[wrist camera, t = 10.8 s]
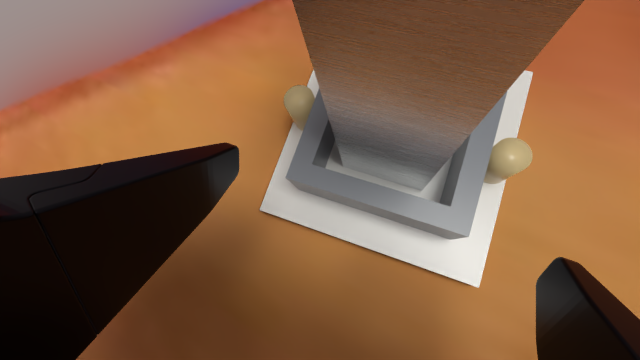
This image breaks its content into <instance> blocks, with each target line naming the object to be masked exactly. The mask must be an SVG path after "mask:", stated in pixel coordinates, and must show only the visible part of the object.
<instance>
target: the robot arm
mask: <svg viewBox="0 0 640 360" xmlns="http://www.w3.org/2000/svg"><path fill="white" fill-rule="evenodd" d="M238 172H239V149H238V147H237V146H235V145H232V144H229V143H219V144H213V145H208V146H202V147H196V148H190V149H184V150H179V151H173V152H167V153H161V154H156V155H150V156H144V157H138V158H132V159H127V160H121V161H115V162H109V163H104V164H103V165H101V164H97V165H91V166H86V167H79V168H73V169H67V170H60V171H53V172H46V173H38V174H31V175H23V176H15V177H7V178H0V360H76V359H77V358H78V356H79V355H80V354H81V353H82V352H83V351H84V350H85V349H86V348H87V347H88V346H89V344H90V343H91V342H92V341H93V340H94V339H95V338H96V337H97V335H98V334H99V333H100V332H101V331H102V330H103V329H104V328H105V327H106V326H107V324H108V323H109V322H110V321H111V320H112V319H113V318H114V317H115V316H116V315H117V314H118V312H119V311H120V310H121V309H122V308H123V307H124V306H125V305H126V304H127V303H128V302H129V300H130V299H131V298H132V297H133V296H134V295H135V294H136V293H137V292H138V291H139V290H140V288H141V287H142V286H143V285H144V284H145V283H146V282H147V281H148V280H149V279H150V278H151V276H152V275H153V274H154V273H155V272H156V271H157V270H158V269H159V268H160V267H161V265H162V264H163V263H164V262H165V261H166V260H167V259H168V258H169V257H170V256H171V255H172V253H173V252H174V251H175V250H176V249H177V248H178V247H179V246H180V245H181V244H182V243H183V241H184V240H185V239H186V238H187V237H188V236H189V235H190V234H191V233H192V232H193V231H194V229H195V228H196V227H197V226H198V225H199V224H200V223H201V222H202V221H203V220H204V219H205V217H206V216H207V215H208V214H209V213H210V212H211V210H212V209H213V208H214V207H215V205H216V204H217V203H218V201H219V200H220V199H221V197H222V196H223V194H224V193H225V192H226V190H227V189H228V188H229V186H230V185H231V183H232V182H233V181H234V179H235V178H236V176H237V175H238ZM536 345H537V355H538V360H640V319H638V318H637V317H636V316H635V315H634V314H633V313H632V312H631V311H630V310H629V309H628V308H627V307H626V306H625V305H623V304H622V303H621V302H620V301H619V300H618V299H617V298H616V297H615V296H614V295H613V294H612V293H611V292H610V291H608V290H607V289H606V288H605V287H604V286H603V285H602V284H601V283H600V282H599V281H598V280H597V279H596V278H595V277H593V276H592V275H591V274H590V273H589V272H588V271H587V270H586V269H585V268H584V267H583V266H582V265H581V264H579V263H577V262H575V261H572V260H569V259H566V258H563V257H558V258H556V259H555V260H553V262H552V263H551V264H550V265H549V266H548V267H547V268H546V270H545V271H544V272H543V273H542V274H541V275H540V277H539V278H538V280H537V283H536Z"/></svg>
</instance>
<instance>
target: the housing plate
mask: <svg viewBox="0 0 640 360" xmlns="http://www.w3.org/2000/svg"><path fill="white" fill-rule="evenodd" d="M532 75H533V72H530V71H525V70H524V72H523V73H522V74H521V75H520V76H519V77H518V79H517V80H516V81H515V82H514V83H513V85H512V86H511V87H510V88H509V89H508V90H507V92H506V93H505V94H504V95H503V96H502V97H501V99H500V100H499V101H498V102H497V103H496V104H495V106H494V107H493V108H492V109H491V110H490V111H489V113H488V114H487V115H486V116H485V117H484V119H483V120H482V121H481V122H480V123H479V124H478V126H477V127H476V128H475V129H474V130H473V131H472V133H471V134H470V135H469V136H468V137H467V138H466V140H465V141H464V142H463V143H462V144H461V146H460V147H459V148H458V149H457V150H456V151H455V153H454V154H453V155H452V156H451V157H450V158H449V160H448V161H447V162H446V163H445V164H444V165H443V167H442V168H441V169H440V170H439V171H438V172H437V174H436V175H435V176H434V177H433V178H432V180H431V181H430V182H429V183H428V184H427V185H426V187H425V188H424V189H423V190H422V191H420V190H417V189H413V188H410V187H407V186H404V185H401V184H397V183H394V182H391V181H388V180H384V179H381V178H378V177H375V176H371V175H368V174H365V173H362V172H358V171H355V170H352V169H349V168H345V167H344V166H343V163H342V160H341V157H340V153H339V150H338V147H337V144H336V140H335V137H334V134H333V131H332V127H331V124H330V121H329V118H328V115H327V111H326V108H325V105H324V102H323V98H322V95H321V92H320V89H319V85H318V82H317V79H316V76H315V72H314V70H313V72H312V75H311V77H310V80H309V83H308V85H307V86H304V85H297V86H294V87H292V88H290V89H289V90H288V91H287V92H286V94H285V96H284V105H285V107H286V109H287V110H288V112H289V114H290V116H291V117H292V119H293V121H294V122H293V124H292V127H291V129H290V132H289V135H288V137H287V140H286V142H285V145H284V148H283V150H282V153H281V155H280V158H279V161H278V163H277V166H276V168H275V171H274V174H273V176H272V179H271V181H270V184H269V187H268V189H267V192H266V194H265V197H264V200H263V202H262V205H261V207H260V210H261V211H264V212H266V213H269V214H272V215H275V216H278V217H280V218H283V219H286V220H289V221H292V222H295V223H297V224H300V225H303V226H306V227H309V228H311V229H314V230H317V231H320V232H323V233H326V234H328V235H331V236H334V237H337V238H340V239H342V240H345V241H348V242H351V243H354V244H357V245H359V246H362V247H365V248H368V249H371V250H373V251H376V252H379V253H382V254H385V255H388V256H390V257H393V258H396V259H399V260H402V261H404V262H407V263H410V264H413V265H416V266H419V267H421V268H424V269H427V270H430V271H433V272H435V273H438V274H441V275H444V276H447V277H450V278H452V279H455V280H458V281H461V282H464V283H466V284H469V285H472V286H475V287H478V288H479V285H480V281H481V277H482V273H483V269H484V265H485V261H486V257H487V253H488V249H489V245H490V241H491V238H492V234H493V230H494V226H495V222H496V218H497V214H498V210H499V206H500V202H501V198H502V194H503V190H504V186H505V182H506V179H507V178H509V177H511V176H513V175H515V174H517V173H518V172H520V171H522V170H524V169H526V168H527V167H528V166H529V165H530V163H531V161H532V151H531V149H530V147H529V146H528V144H527V143H525V142H524V141H522V140H520V139H518V138H517V134H518V130H519V126H520V122H521V118H522V114H523V110H524V106H525V102H526V98H527V94H528V90H529V87H530V83H531V79H532Z"/></svg>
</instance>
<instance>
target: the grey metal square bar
mask: <svg viewBox="0 0 640 360" xmlns="http://www.w3.org/2000/svg"><path fill="white" fill-rule="evenodd" d="M292 1H293V4H294V7H295V11H296V14H297V17H298V20H299V24H300V27H301V30H302V33H303V37H304V40H305V43H306V46H307V50H308V53H309V56H310V59H311V63H312V66H313V69H314V72H315V76H316V79H317V82H318V85H319V89H320V92H321V95H322V98H323V102H324V105H325V108H326V111H327V115H328V118H329V121H330V124H331V127H332V131H333V134H334V137H335V140H336V144H337V147H338V150H339V153H340V157H341V160H342V163H343V166H344V167H345V168H349V169H352V170H355V171H358V172H362V173H365V174H368V175H371V176H375V177H378V178H381V179H384V180H388V181H391V182H394V183H397V184H401V185H404V186H407V187H410V188H413V189H417V190H420V191H422V190H423V189H424V188H425V187H426V185H427V184H428V183H429V182H430V181H431V180H432V178H433V177H434V176H435V175H436V174H437V172H438V171H439V170H440V169H441V168H442V167H443V165H444V164H445V163H446V162H447V161H448V160H449V158H450V157H451V156H452V155H453V154H454V153H455V151H456V150H457V149H458V148H459V147H460V146H461V144H462V143H463V142H464V141H465V140H466V138H467V137H468V136H469V135H470V134H471V133H472V131H473V130H474V129H475V128H476V127H477V126H478V124H479V123H480V122H481V121H482V120H483V119H484V117H485V116H486V115H487V114H488V113H489V111H490V110H491V109H492V108H493V107H494V106H495V104H496V103H497V102H498V101H499V100H500V99H501V97H502V96H503V95H504V94H505V93H506V92H507V90H508V89H509V88H510V87H511V86H512V85H513V83H514V82H515V81H516V80H517V79H518V77H519V76H520V75H521V74H522V73H523V72H524V70H525V69H526V68H527V67H528V66H529V65H530V63H531V62H532V61H533V60H534V59H535V58H536V56H537V55H538V54H539V53H540V52H541V50H542V49H543V48H544V47H545V46H546V45H547V43H548V42H549V41H550V40H551V39H552V38H553V36H554V35H555V34H556V33H557V32H558V31H559V29H560V28H561V27H562V26H563V25H564V24H565V22H566V21H567V20H568V19H569V18H570V16H571V15H572V14H573V13H574V12H575V11H576V9H577V8H578V7H579V6H580V5H581V4H582V2H583V1H584V0H292Z"/></svg>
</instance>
